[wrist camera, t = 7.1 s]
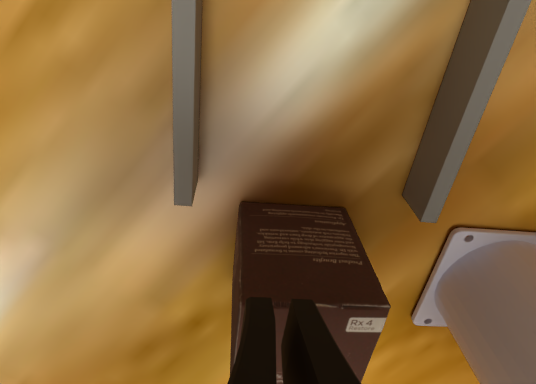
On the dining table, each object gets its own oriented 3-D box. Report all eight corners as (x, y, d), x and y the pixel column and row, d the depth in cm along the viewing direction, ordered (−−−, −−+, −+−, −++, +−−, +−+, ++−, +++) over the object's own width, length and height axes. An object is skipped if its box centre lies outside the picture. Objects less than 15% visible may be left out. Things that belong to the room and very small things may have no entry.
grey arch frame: (562, -191, 13) (626, -223, 10) (416, 196, 20) (436, 223, 18) (182, -268, 11) (168, -323, 9) (182, 178, 19) (174, 205, 17)
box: (230, 280, 23) (225, 397, 17) (238, 197, 20) (236, 303, 14) (327, 284, 24) (357, 399, 17) (349, 205, 21) (395, 310, 14)
